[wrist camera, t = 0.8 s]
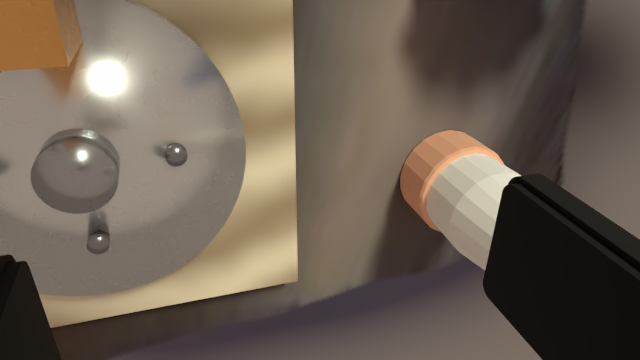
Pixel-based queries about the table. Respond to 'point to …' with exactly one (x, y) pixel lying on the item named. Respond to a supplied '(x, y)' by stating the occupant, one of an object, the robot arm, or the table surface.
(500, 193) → the pepper shaker
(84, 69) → the flange
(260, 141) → the base board
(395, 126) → the table surface
